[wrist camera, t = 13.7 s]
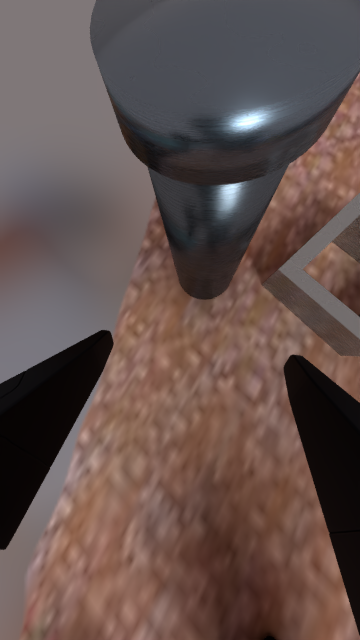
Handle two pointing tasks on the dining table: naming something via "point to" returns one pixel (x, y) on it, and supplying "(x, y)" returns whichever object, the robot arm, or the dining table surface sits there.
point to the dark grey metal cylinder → (222, 109)
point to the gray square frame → (312, 298)
